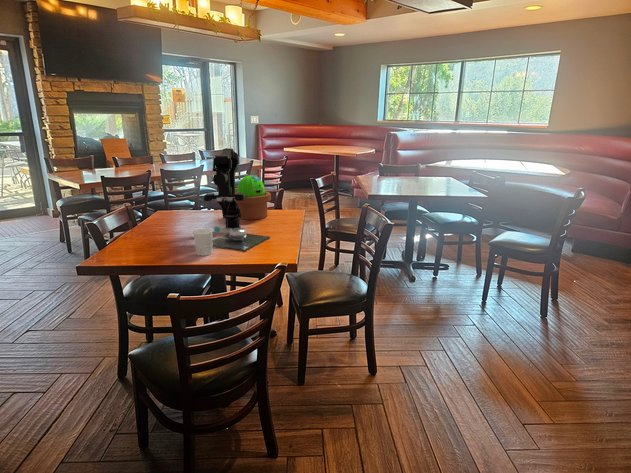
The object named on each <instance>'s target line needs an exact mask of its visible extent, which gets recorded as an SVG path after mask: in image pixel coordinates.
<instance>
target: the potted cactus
mask: <svg viewBox="0 0 631 473" xmlns="http://www.w3.org/2000/svg"><path fill="white" fill-rule="evenodd" d="M236 186H237V187H236V191H235V194H236V193H244V194H245V199H244V200H243V201H237V200H236V199H235V201H236V202H237V204H238V207H239V209H240V212H241V217H240V218H239V219H241V220H245V221H246V220H247V221H254V220H256V221H257V220H260V219H261V220H262V219H265V218H266V217H268V202H270V201H272V194H271V192H269V191H266V190H265V189H266V188H265V184H264V181H262V179H261V178H260V177H258V175H256V174H254V175H253V174H252V175H250V174H246V175H245V176H243V178H241V179H240V180H239V181H238V184H237V185H236ZM237 215H238V214H237Z"/></svg>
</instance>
